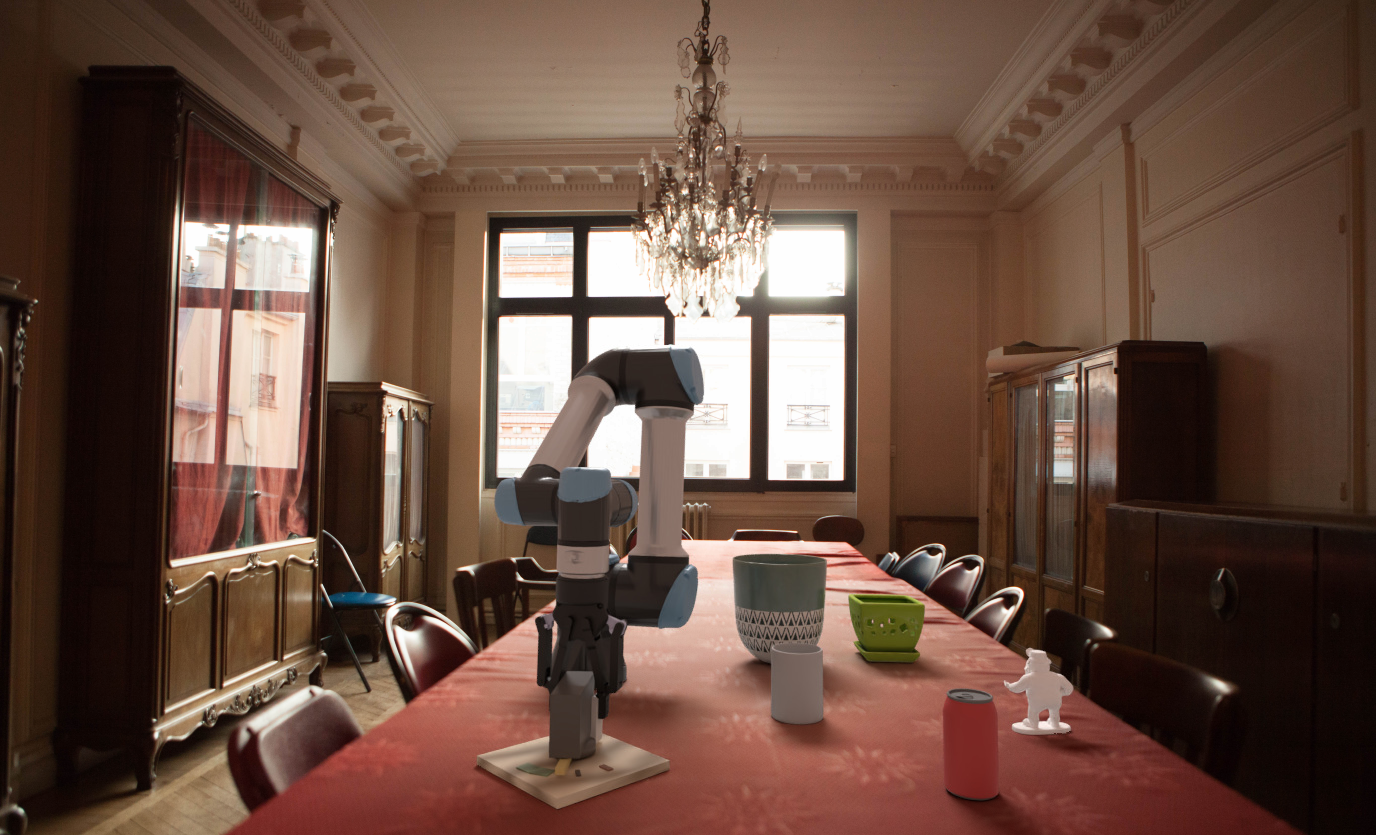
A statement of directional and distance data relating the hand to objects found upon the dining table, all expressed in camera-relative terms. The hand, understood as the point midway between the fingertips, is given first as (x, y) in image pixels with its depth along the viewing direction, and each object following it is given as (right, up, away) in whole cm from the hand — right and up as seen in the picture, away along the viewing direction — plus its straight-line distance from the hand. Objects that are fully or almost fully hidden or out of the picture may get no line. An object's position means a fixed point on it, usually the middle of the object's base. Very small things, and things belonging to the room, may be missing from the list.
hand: (578, 738), depth 112 cm
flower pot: (+58, -6, +57) cm, 82 cm away
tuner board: (0, -1, -6) cm, 6 cm away
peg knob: (0, 0, -6) cm, 6 cm away
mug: (+34, -3, +18) cm, 38 cm away
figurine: (+71, -3, +11) cm, 72 cm away
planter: (+35, -6, +53) cm, 64 cm away
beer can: (+51, -1, -13) cm, 53 cm away
